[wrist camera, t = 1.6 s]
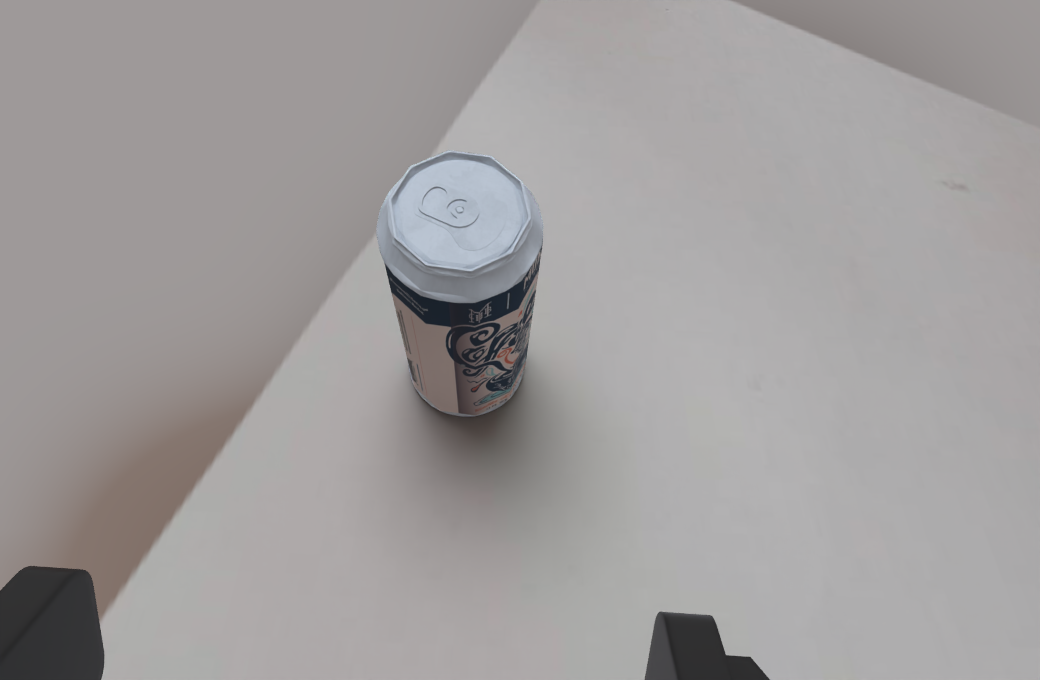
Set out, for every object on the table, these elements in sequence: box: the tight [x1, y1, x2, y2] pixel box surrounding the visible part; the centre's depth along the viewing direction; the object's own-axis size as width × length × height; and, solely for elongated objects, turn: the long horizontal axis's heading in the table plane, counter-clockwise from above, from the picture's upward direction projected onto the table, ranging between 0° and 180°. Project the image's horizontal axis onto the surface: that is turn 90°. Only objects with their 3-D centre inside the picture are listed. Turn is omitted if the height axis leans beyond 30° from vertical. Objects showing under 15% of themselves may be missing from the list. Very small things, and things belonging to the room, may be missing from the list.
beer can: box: [377, 150, 543, 417], centre depth 27 cm, size 5×5×12 cm
